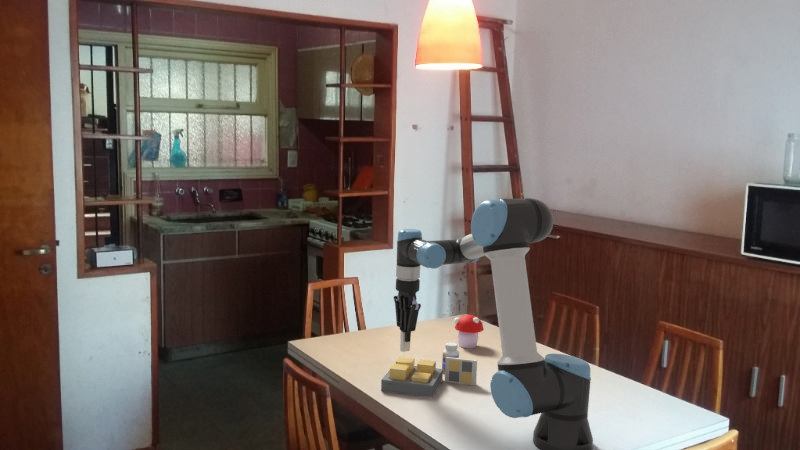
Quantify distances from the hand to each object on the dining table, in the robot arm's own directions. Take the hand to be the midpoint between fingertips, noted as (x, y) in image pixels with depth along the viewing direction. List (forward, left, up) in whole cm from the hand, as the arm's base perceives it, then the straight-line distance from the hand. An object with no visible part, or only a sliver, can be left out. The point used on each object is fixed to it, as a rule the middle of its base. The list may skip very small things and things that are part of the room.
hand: (404, 350), depth 229 cm
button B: (-7, 0, -7) cm, 10 cm away
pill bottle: (+12, -13, -10) cm, 20 cm away
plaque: (+3, -18, -10) cm, 20 cm away
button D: (0, 0, -7) cm, 7 cm away
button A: (-7, -7, -9) cm, 14 cm away
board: (-4, -4, -10) cm, 11 cm away
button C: (0, -7, -7) cm, 10 cm away
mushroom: (+44, -14, -10) cm, 47 cm away
